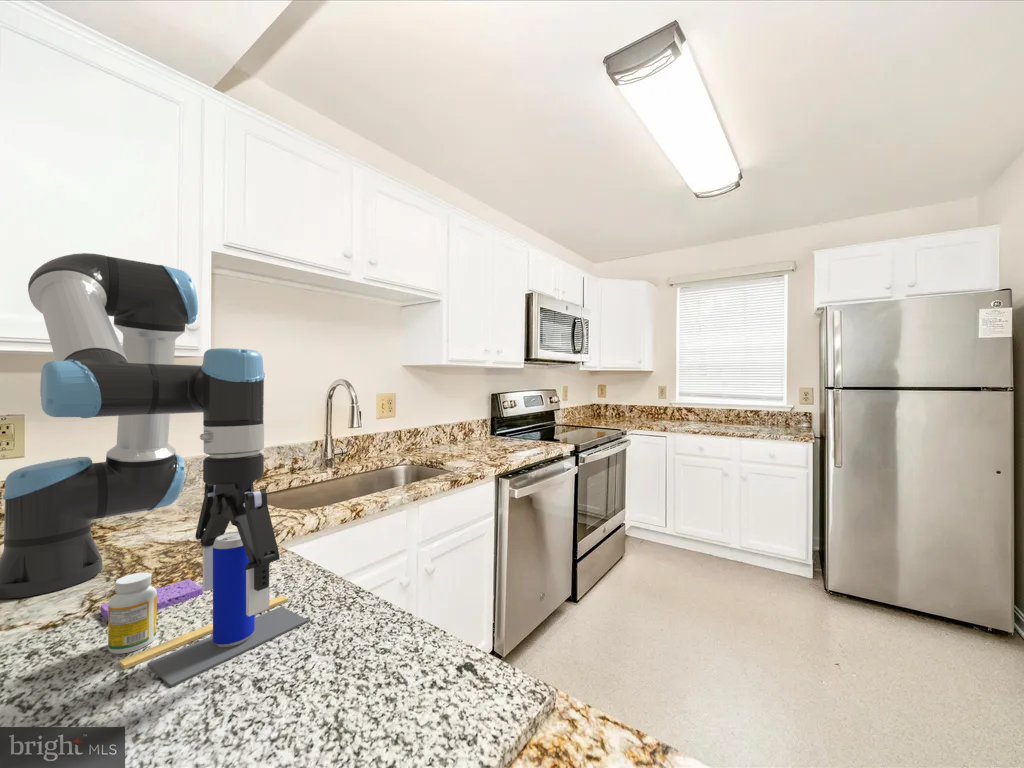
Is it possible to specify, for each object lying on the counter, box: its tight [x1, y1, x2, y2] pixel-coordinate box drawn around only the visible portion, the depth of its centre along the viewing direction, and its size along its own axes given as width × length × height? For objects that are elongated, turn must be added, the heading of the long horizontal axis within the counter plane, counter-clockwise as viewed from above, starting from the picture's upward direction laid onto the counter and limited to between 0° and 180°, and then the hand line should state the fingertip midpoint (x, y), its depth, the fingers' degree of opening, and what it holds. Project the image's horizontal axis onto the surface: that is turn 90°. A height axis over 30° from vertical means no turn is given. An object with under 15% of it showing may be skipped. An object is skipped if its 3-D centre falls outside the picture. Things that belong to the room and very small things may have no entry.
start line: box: [119, 594, 289, 670], centre depth 67 cm, size 2×22×1 cm, turn 146°
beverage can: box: [212, 531, 255, 647], centre depth 64 cm, size 5×5×15 cm
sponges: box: [99, 578, 204, 620], centre depth 75 cm, size 7×13×2 cm, turn 144°
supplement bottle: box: [107, 572, 158, 655], centre depth 63 cm, size 5×5×10 cm
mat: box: [146, 606, 309, 688], centre depth 63 cm, size 8×18×1 cm, turn 146°
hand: (234, 599), depth 63 cm, fingers open, 13 cm apart
